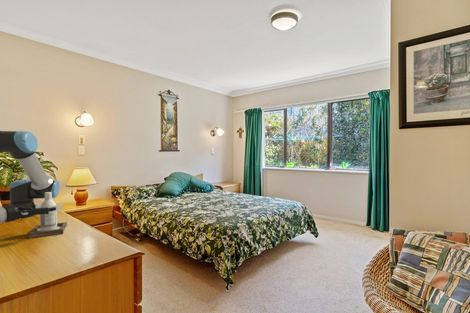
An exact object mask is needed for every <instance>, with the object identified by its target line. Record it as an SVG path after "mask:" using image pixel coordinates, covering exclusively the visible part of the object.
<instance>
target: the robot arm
mask: <svg viewBox="0 0 470 313" xmlns="http://www.w3.org/2000/svg"><path fill="white" fill-rule="evenodd" d="M38 147H39V143H38V139H37V136H36V135H34V133H32V132H30V131H23V130H17V131H16V130H13V131H12V130H0V153H1V154H2V153H4V154H5V153H6V154H7V153H8V154H9V155H10V156H11V158H12V159H15V160H17V161H18V163H19V164H20V166H21V167H22V170H24V172H25V174H26V175H27V177H28V178H27V179H19V180H15V181H11V182H10V184H9V205H4V206H0V224H3V223H10V222H15V221H16V220H17V219H20V218H28V217H32V216H37V215H40V214H49V212H53V211H57V212H59V211H63V204H62V203H60V204H56V205H55V206H50V207H46V208H40V207H41V205H42V203H43V202H37V203H35V201H34V200H35V199H36V200H37V199H38V200H39V199H40V200H42V199H44V200H45V193H46V192H52V199H54V198H57V196H59V193H60V190H61V189H60V188H61V184H60V181H59V180H55V179H53V178H52V176H50V175H48V173H47V172H46V171H45V169H44V167H43V165H42V163H41V162H40V160H39V158H38V156H37V154H36V152H37V150H38Z"/></svg>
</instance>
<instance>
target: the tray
mask: <svg viewBox="0 0 470 313" xmlns="http://www.w3.org/2000/svg"><path fill="white" fill-rule="evenodd" d="M67 227H68V222H66V221H65V222H57V229H56V230H48V231H41V224H39V225H35V226H34V227H33V228H32V229H31V230H30V231H29V232H28V239H34V238H43V237H50V236H57V235H63V234H65V232H66V229H67Z"/></svg>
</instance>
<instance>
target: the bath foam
mask: <svg viewBox="0 0 470 313" xmlns="http://www.w3.org/2000/svg"><path fill="white" fill-rule="evenodd" d="M41 203H42V205H41V207H40V208H46V207H50V206H55V205H57V203H56V202H55V201H54V199H53V198H52V192H46V193H45V199H44V200H43V202H41ZM39 221H40V224H39V225H41V231H48V230H56V229H57V223H58V211H53V212H49V214H40V220H39Z"/></svg>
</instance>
